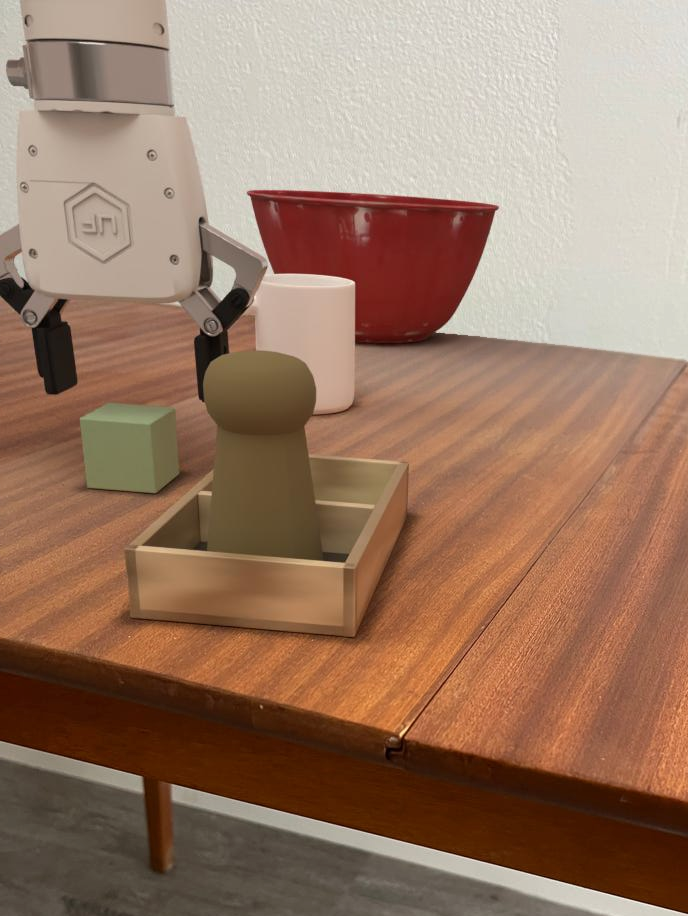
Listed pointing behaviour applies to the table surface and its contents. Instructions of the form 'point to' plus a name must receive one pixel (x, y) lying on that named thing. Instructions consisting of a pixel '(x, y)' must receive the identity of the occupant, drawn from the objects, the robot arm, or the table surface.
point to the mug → (311, 330)
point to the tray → (274, 578)
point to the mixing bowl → (379, 252)
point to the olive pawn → (262, 456)
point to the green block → (130, 447)
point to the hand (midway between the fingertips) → (137, 394)
